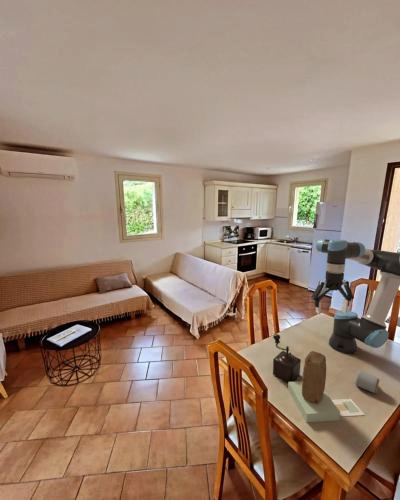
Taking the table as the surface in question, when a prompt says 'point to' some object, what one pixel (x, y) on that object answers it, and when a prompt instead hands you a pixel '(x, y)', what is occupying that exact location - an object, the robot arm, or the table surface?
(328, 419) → the baseplate
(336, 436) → the table surface
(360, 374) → the grey cylinder
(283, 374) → the dark brown coffee grinder
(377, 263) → the robot arm
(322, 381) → the block
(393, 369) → the table surface
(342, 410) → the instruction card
